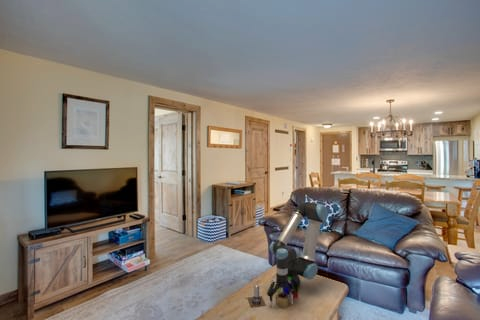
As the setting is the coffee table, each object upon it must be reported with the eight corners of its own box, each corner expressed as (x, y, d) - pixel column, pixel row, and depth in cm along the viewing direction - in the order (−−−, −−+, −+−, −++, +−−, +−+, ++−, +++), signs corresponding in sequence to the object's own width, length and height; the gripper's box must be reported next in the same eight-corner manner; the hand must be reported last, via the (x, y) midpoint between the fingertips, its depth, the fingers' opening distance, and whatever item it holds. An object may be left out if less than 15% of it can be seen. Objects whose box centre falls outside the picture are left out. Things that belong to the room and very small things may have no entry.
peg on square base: (247, 298, 172) (247, 282, 172) (261, 297, 174) (261, 280, 174) (251, 307, 163) (251, 290, 162) (265, 305, 164) (265, 288, 164)
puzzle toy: (285, 300, 171) (285, 286, 170) (277, 292, 180) (277, 279, 179) (297, 297, 174) (297, 283, 174) (289, 289, 184) (289, 276, 183)
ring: (274, 301, 169) (274, 293, 169) (285, 300, 170) (285, 291, 170) (278, 309, 161) (278, 299, 161) (290, 307, 162) (290, 298, 162)
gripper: (265, 277, 159) (265, 310, 159) (302, 273, 164) (301, 305, 164) (262, 272, 166) (262, 303, 167) (297, 268, 171) (297, 299, 172)
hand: (281, 304), depth 165 cm, fingers open, 13 cm apart
